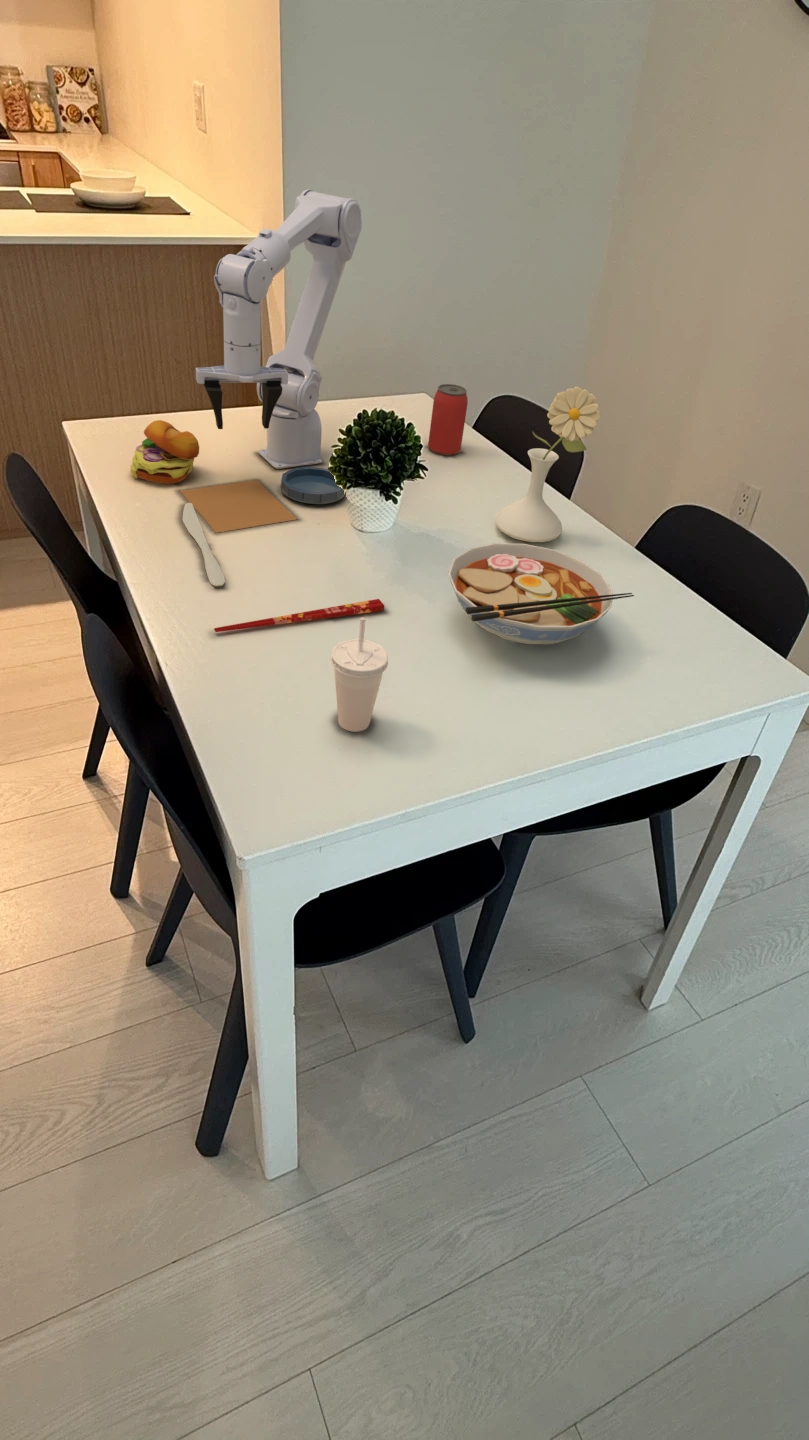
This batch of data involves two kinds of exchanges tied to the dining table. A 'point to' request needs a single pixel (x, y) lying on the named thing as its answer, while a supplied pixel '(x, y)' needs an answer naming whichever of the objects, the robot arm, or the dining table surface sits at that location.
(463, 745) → the dining table surface
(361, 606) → the chopstick
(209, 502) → the placemat
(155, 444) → the cheeseburger
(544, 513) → the flower in vase
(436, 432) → the beer can
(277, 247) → the robot arm
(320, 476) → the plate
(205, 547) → the butter knife
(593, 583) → the ramen bowl
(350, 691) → the smoothie
